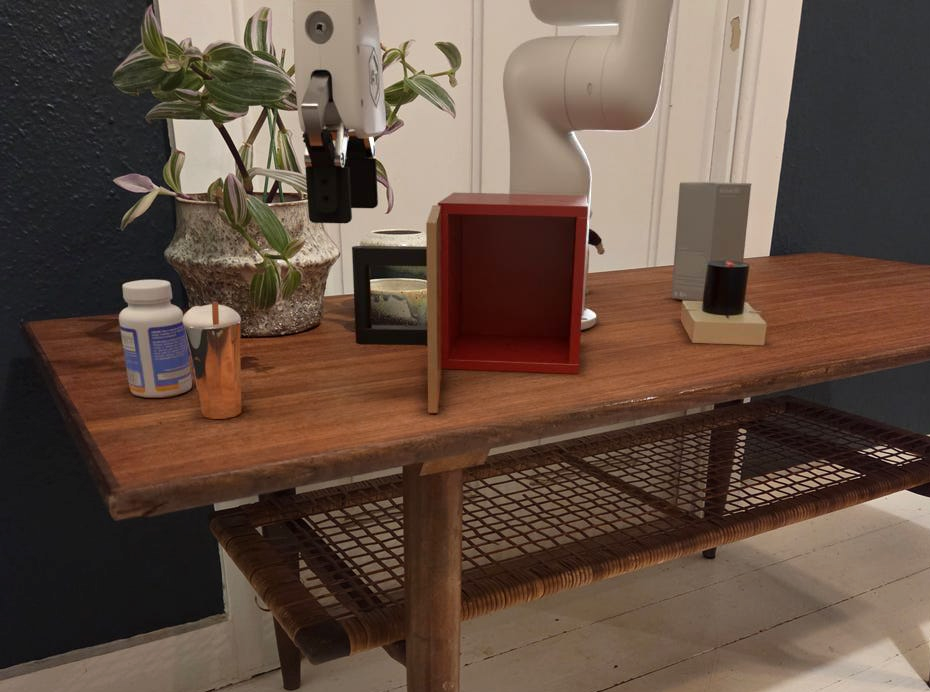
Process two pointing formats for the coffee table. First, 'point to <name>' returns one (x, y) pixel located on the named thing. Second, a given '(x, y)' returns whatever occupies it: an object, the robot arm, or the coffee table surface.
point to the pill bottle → (154, 341)
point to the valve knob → (725, 287)
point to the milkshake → (215, 358)
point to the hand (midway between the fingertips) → (345, 214)
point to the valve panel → (723, 325)
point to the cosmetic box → (707, 232)
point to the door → (431, 332)
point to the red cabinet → (512, 281)
